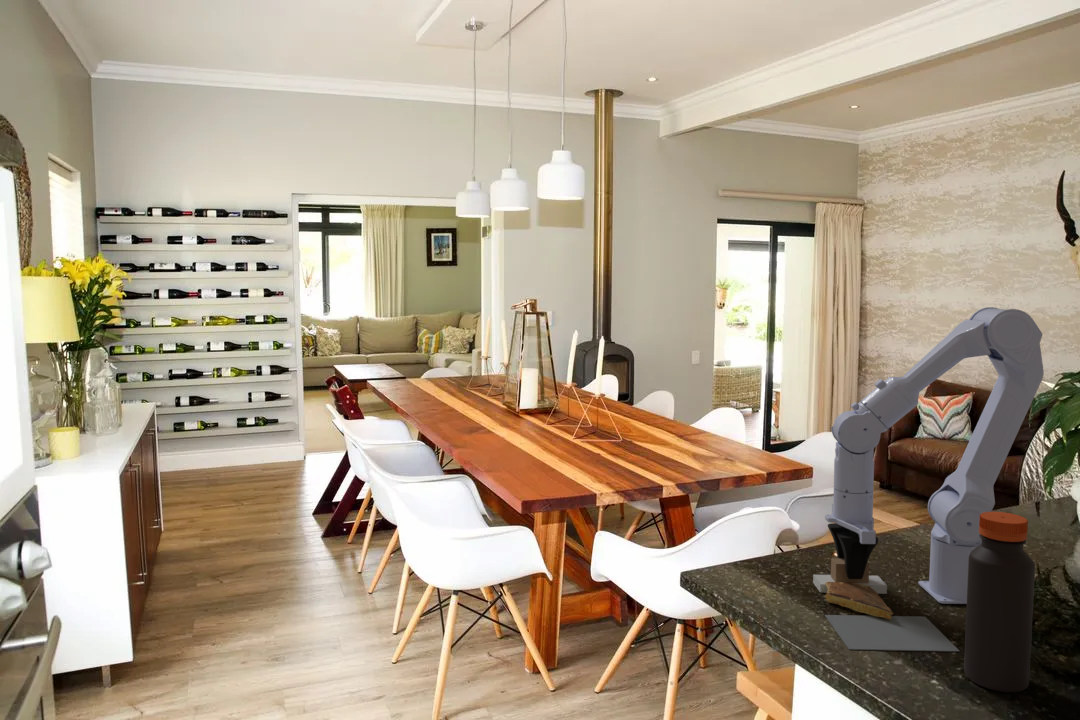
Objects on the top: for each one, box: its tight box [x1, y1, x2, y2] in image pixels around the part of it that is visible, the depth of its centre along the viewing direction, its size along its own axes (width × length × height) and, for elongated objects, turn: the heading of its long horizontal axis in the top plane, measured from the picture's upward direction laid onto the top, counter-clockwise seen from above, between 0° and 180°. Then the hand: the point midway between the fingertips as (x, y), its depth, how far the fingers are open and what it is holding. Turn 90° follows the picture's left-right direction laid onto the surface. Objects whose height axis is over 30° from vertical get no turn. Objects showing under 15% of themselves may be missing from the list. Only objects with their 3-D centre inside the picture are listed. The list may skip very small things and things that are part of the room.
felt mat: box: [824, 614, 961, 653], centre depth 106 cm, size 14×10×1 cm
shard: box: [824, 582, 894, 620], centre depth 115 cm, size 11×8×2 cm
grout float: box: [812, 557, 888, 595], centre depth 122 cm, size 10×4×4 cm, turn 86°
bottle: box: [963, 511, 1036, 693], centre depth 93 cm, size 7×7×20 cm
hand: (851, 574), depth 122 cm, fingers open, 3 cm apart
